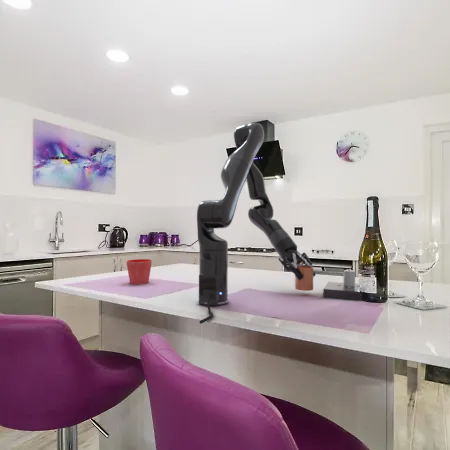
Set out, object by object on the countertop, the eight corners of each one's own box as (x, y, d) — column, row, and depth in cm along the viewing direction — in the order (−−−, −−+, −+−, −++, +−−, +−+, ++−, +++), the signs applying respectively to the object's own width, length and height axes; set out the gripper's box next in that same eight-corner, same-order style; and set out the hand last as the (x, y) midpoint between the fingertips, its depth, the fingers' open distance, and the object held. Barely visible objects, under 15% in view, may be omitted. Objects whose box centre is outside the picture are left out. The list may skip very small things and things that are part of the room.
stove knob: (354, 287, 119) (355, 270, 119) (343, 286, 120) (343, 270, 120) (355, 285, 123) (355, 269, 123) (343, 284, 124) (343, 268, 124)
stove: (360, 300, 111) (360, 291, 111) (323, 297, 115) (323, 288, 115) (361, 291, 125) (361, 283, 125) (328, 289, 130) (328, 281, 130)
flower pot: (126, 285, 137) (126, 262, 137) (126, 281, 148) (126, 259, 148) (152, 284, 140) (152, 261, 140) (151, 280, 150) (151, 258, 150)
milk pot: (311, 291, 116) (311, 268, 116) (293, 289, 118) (293, 267, 118) (314, 287, 122) (314, 266, 122) (296, 286, 124) (297, 265, 124)
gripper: (275, 236, 121) (301, 272, 112) (299, 235, 130) (325, 269, 121) (264, 250, 125) (289, 286, 116) (289, 248, 134) (313, 281, 126)
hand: (307, 277), depth 119 cm, fingers closed on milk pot, 6 cm apart
